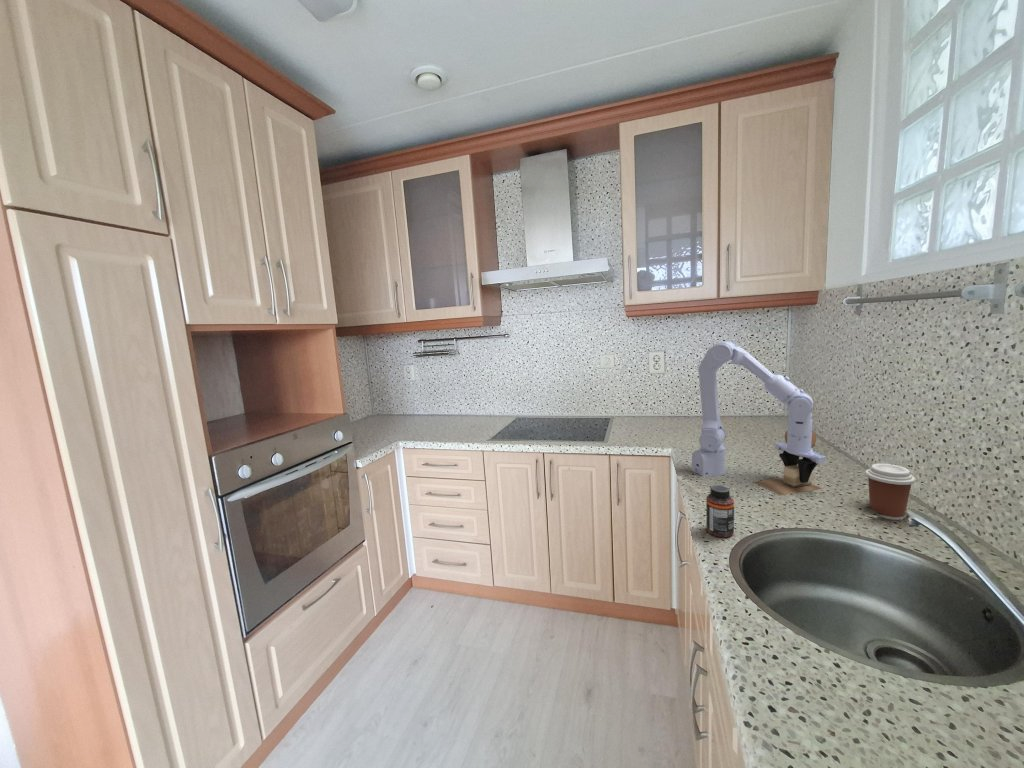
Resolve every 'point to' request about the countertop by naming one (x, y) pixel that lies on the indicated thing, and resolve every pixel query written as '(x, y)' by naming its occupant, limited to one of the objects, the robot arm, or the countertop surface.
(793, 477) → the block
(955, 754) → the countertop surface
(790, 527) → the countertop surface
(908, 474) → the coffee cup
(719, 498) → the supplement bottle
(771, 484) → the board
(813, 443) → the onion
